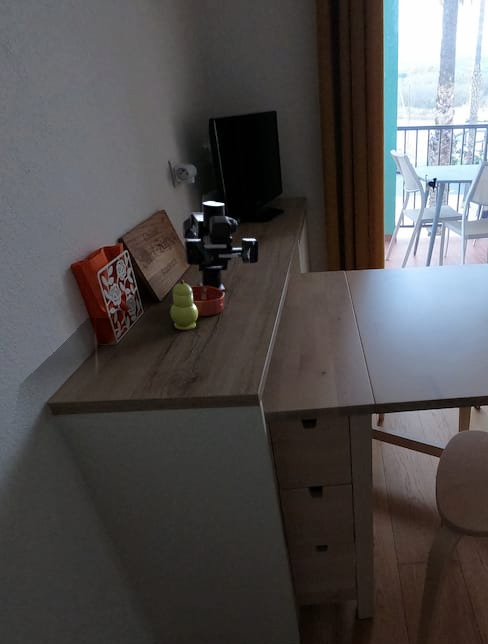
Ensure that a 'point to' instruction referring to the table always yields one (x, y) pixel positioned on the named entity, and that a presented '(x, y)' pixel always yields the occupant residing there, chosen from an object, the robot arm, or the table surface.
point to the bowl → (208, 300)
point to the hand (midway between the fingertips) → (230, 261)
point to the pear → (183, 307)
